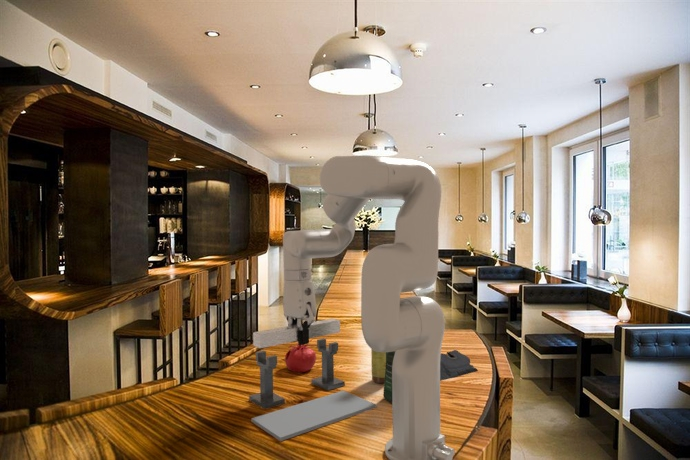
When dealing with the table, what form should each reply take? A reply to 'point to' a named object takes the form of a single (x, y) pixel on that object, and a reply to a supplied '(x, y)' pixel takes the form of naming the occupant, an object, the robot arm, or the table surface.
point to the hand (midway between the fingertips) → (299, 342)
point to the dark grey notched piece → (454, 365)
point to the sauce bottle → (378, 366)
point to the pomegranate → (300, 358)
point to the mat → (312, 414)
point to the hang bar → (294, 333)
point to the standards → (325, 381)
